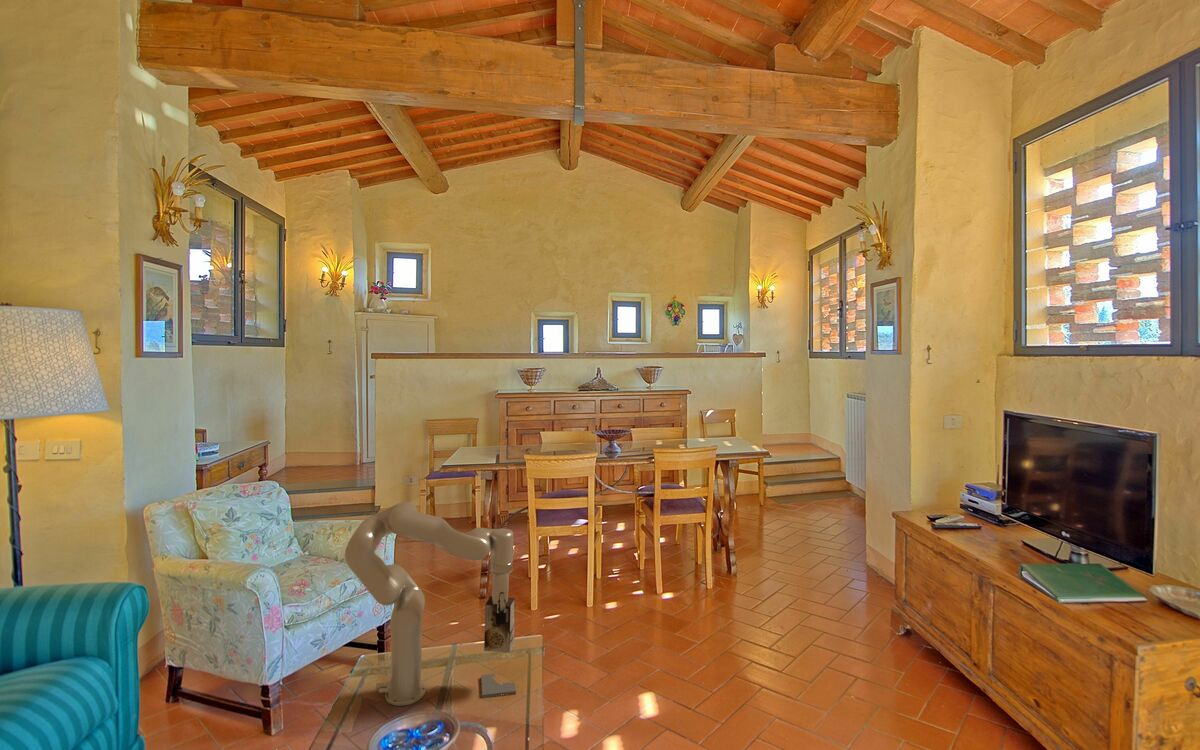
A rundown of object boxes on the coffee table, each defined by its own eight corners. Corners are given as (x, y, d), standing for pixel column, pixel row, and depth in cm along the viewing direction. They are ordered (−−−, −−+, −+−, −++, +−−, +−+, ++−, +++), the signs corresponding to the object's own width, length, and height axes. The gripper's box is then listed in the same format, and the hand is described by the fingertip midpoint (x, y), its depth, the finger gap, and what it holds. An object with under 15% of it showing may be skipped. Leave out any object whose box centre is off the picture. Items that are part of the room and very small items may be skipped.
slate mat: (482, 697, 180) (482, 694, 179) (481, 677, 190) (481, 675, 190) (515, 693, 182) (515, 691, 182) (512, 674, 193) (513, 671, 193)
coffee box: (514, 643, 188) (516, 597, 188) (509, 653, 182) (511, 606, 181) (488, 640, 189) (490, 595, 188) (483, 651, 183) (484, 603, 182)
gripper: (489, 557, 192) (487, 606, 193) (491, 578, 175) (489, 631, 176) (510, 556, 193) (509, 604, 194) (514, 576, 177) (513, 629, 177)
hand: (499, 617), depth 185 cm, fingers closed on coffee box, 7 cm apart
